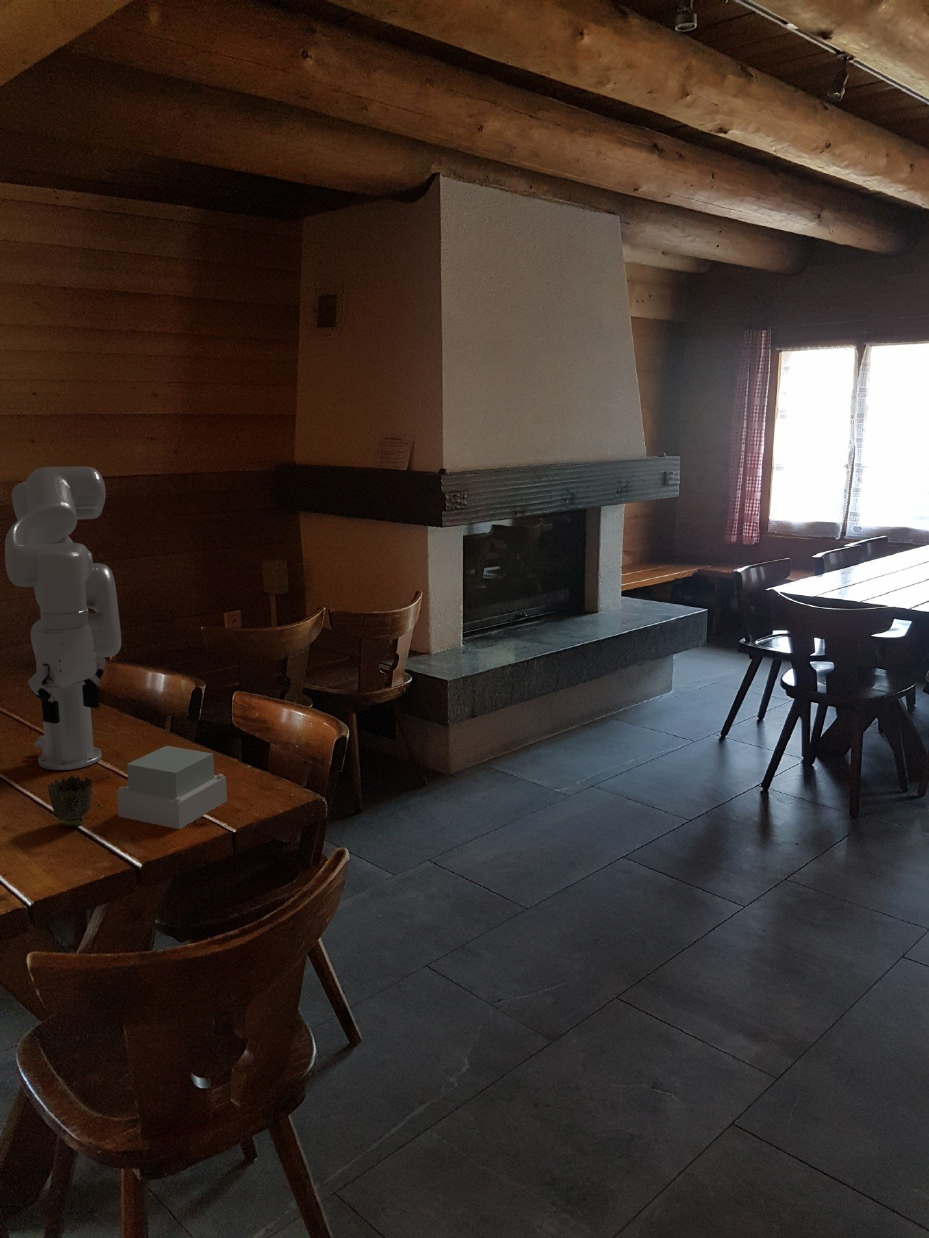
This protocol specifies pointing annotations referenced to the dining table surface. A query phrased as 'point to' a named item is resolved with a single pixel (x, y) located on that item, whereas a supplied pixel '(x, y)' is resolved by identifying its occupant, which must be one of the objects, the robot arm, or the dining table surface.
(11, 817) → the dining table surface
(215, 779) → the grey stacking block
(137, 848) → the dining table surface
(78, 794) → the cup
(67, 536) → the robot arm
